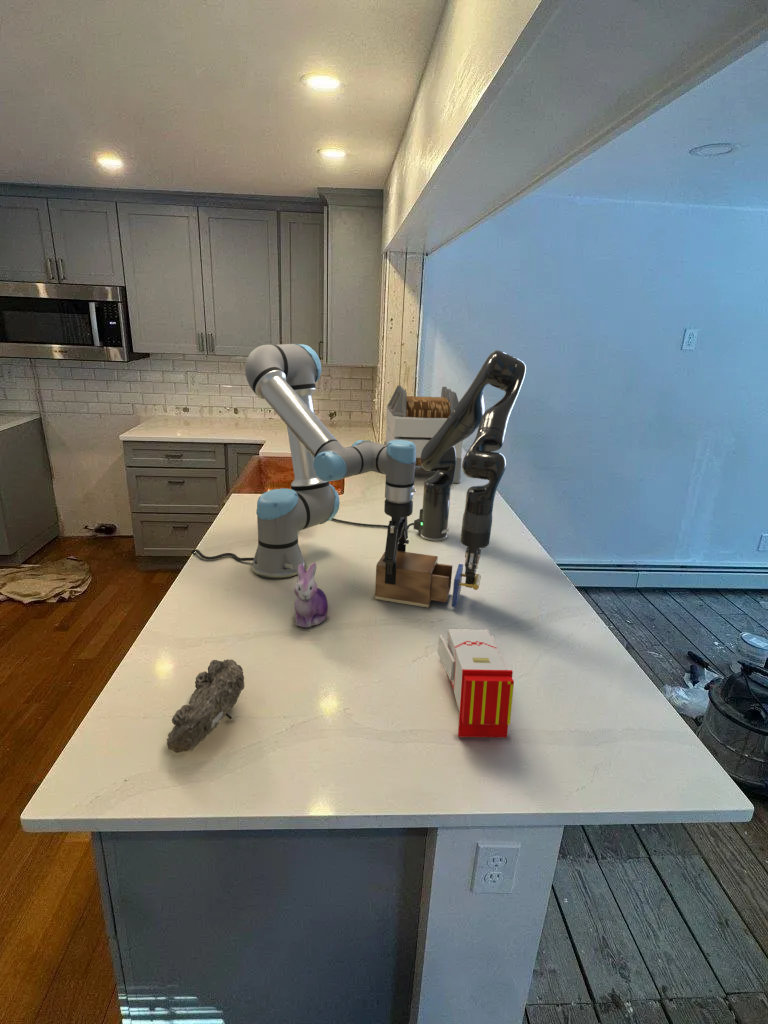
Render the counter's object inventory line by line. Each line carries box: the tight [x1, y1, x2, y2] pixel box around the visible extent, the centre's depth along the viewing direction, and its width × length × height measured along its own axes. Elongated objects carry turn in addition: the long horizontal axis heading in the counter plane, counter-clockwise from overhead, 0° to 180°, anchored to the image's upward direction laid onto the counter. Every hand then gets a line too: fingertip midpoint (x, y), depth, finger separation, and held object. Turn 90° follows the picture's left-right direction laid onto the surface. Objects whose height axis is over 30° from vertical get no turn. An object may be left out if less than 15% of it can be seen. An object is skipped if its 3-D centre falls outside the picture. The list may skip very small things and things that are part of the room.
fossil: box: [166, 658, 245, 754], centre depth 106 cm, size 22×10×15 cm
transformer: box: [383, 384, 464, 484], centre depth 268 cm, size 34×33×41 cm
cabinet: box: [374, 551, 439, 608], centre depth 156 cm, size 15×11×10 cm
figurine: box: [293, 562, 329, 628], centre depth 140 cm, size 9×10×15 cm
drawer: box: [430, 562, 482, 608], centre depth 154 cm, size 19×10×8 cm, turn 76°
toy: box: [437, 628, 515, 738], centre depth 117 cm, size 12×13×30 cm
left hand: (395, 574), depth 157 cm, fingers closed on cabinet, 11 cm apart
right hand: (469, 586), depth 153 cm, fingers closed
